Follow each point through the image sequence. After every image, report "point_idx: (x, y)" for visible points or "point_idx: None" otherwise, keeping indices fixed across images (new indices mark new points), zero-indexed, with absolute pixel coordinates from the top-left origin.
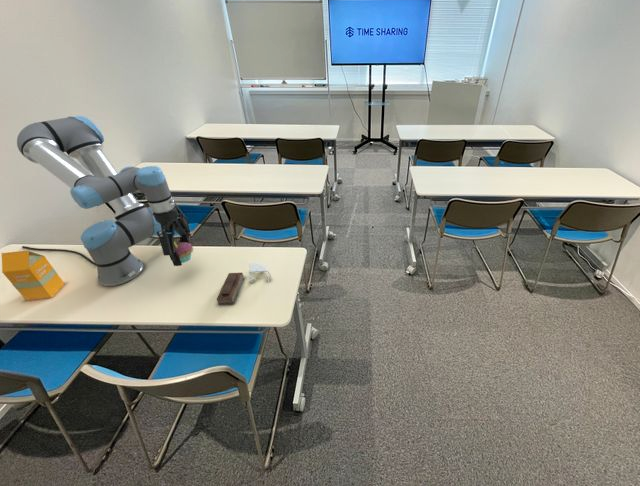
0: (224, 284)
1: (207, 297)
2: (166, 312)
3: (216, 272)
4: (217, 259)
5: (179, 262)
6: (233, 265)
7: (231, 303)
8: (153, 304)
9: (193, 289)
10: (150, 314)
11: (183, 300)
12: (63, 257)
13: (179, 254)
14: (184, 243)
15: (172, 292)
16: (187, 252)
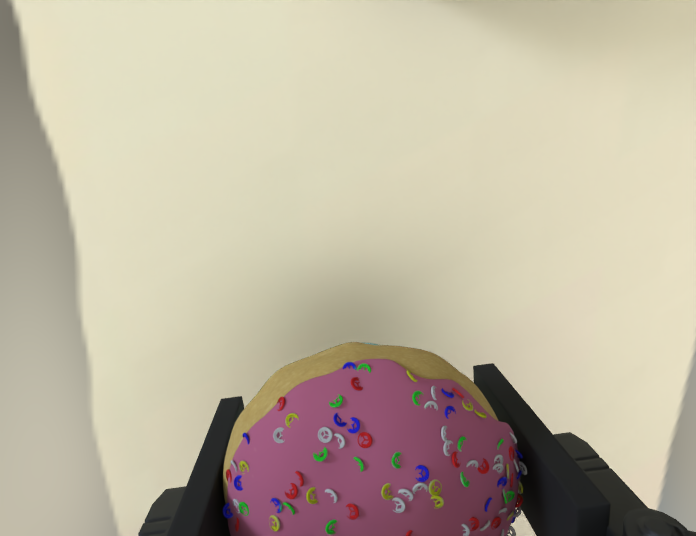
0: None
1: (569, 77)
2: (665, 281)
3: (303, 139)
4: (147, 209)
5: (512, 390)
6: (202, 23)
7: None
8: (592, 388)
9: (484, 223)
10: (665, 358)
11: (580, 235)
12: None
13: (508, 446)
14: (307, 517)
15: (504, 341)
16: (436, 375)
